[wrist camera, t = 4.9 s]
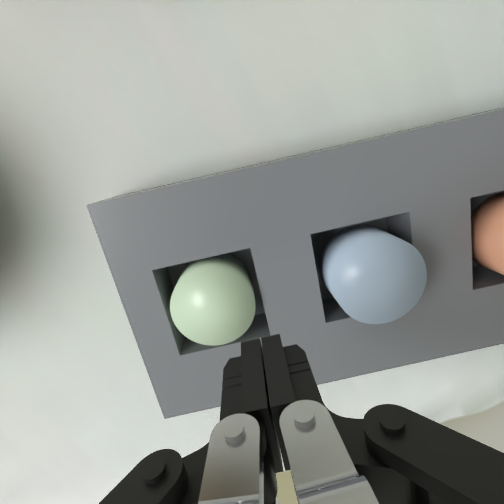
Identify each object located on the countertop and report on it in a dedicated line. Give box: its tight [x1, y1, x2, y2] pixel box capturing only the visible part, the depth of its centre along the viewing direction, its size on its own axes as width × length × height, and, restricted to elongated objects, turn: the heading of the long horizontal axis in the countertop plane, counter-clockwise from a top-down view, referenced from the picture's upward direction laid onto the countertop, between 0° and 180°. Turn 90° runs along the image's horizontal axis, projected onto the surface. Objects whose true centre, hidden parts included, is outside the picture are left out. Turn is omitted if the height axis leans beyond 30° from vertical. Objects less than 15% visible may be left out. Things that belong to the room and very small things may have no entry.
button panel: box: [87, 108, 504, 419], centre depth 20 cm, size 28×14×4 cm, turn 102°
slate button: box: [319, 225, 427, 324], centre depth 18 cm, size 5×5×3 cm
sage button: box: [170, 253, 256, 346], centre depth 20 cm, size 5×5×3 cm
